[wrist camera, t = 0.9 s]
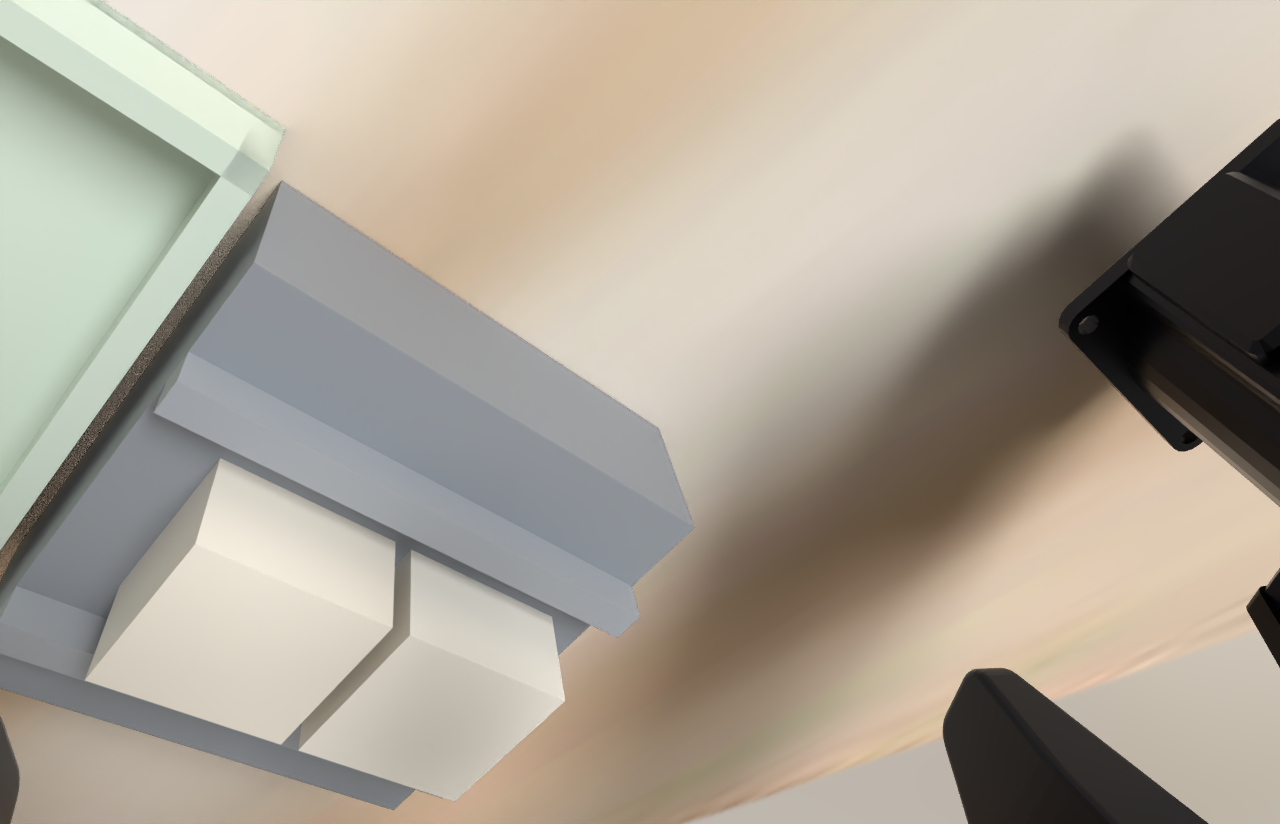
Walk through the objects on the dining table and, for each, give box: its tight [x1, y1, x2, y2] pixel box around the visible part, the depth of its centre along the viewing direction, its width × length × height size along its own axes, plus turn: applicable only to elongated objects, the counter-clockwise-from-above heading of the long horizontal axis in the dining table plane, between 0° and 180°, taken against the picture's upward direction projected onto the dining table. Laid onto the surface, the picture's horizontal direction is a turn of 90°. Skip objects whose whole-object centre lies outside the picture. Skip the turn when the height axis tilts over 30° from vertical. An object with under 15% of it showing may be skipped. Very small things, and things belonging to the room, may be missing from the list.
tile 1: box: [85, 458, 395, 745], centre depth 19 cm, size 4×4×2 cm
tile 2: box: [298, 550, 565, 802], centre depth 21 cm, size 4×4×2 cm
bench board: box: [0, 181, 695, 810], centre depth 22 cm, size 11×12×5 cm
